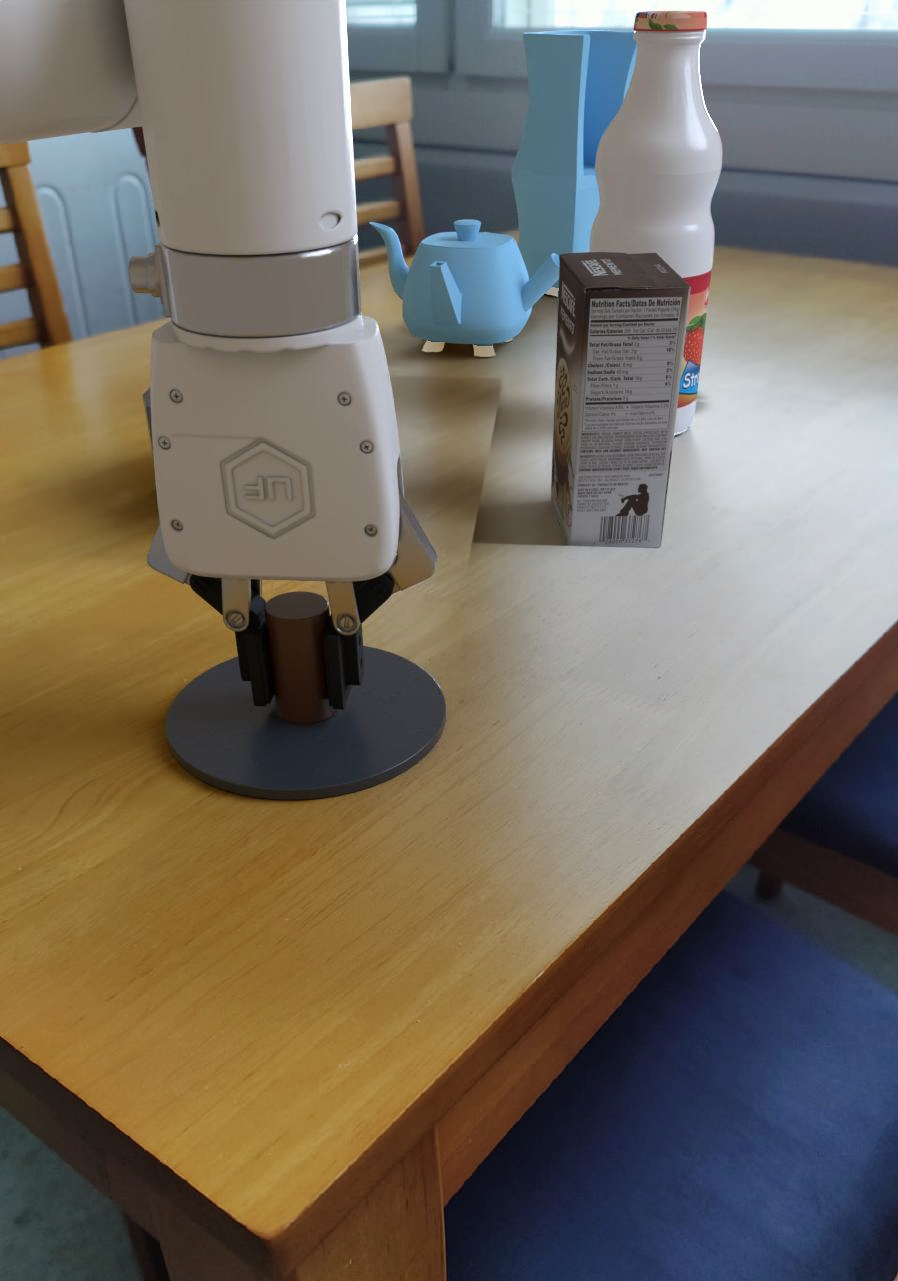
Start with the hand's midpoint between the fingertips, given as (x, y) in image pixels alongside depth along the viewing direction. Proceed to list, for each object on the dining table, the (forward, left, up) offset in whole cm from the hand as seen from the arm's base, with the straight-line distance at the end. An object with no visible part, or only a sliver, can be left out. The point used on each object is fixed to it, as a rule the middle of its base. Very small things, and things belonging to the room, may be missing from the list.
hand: (305, 690), depth 55 cm
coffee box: (+15, +27, -2) cm, 31 cm away
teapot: (+2, +71, -2) cm, 71 cm away
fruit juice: (+18, +48, -2) cm, 51 cm away
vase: (+12, +98, -2) cm, 99 cm away
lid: (0, 0, -2) cm, 2 cm away
